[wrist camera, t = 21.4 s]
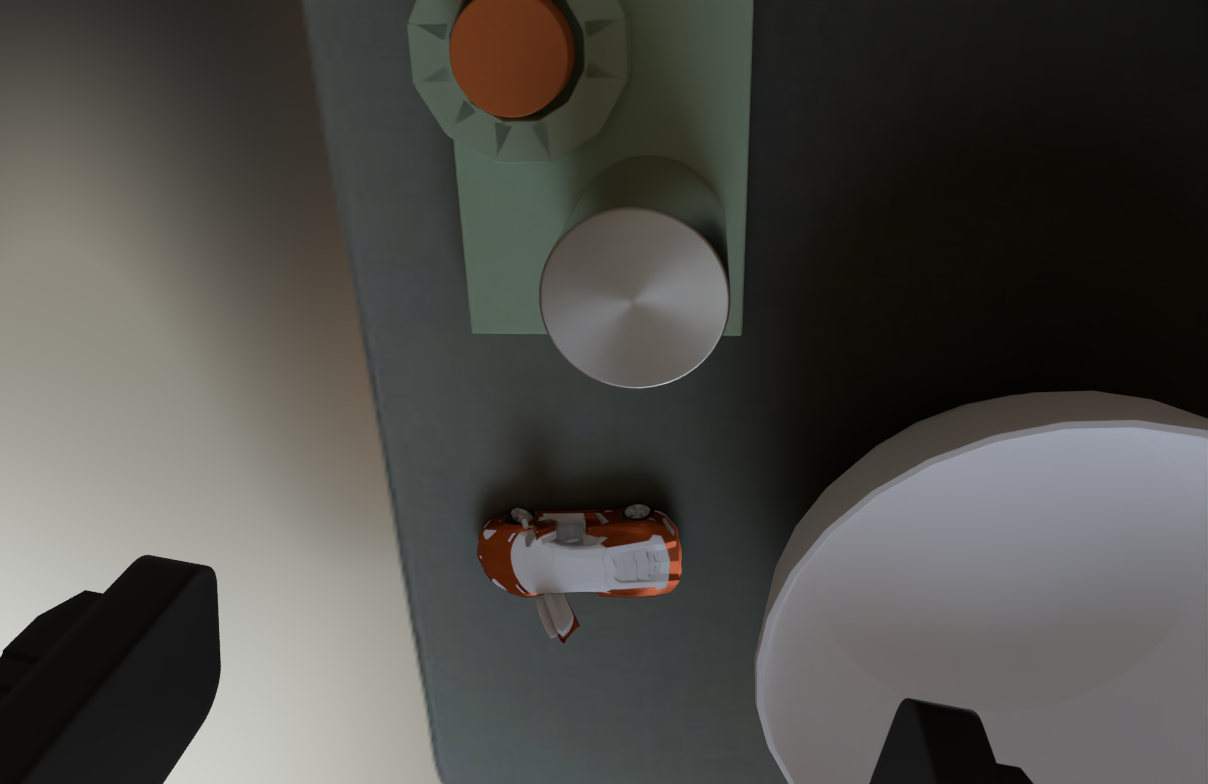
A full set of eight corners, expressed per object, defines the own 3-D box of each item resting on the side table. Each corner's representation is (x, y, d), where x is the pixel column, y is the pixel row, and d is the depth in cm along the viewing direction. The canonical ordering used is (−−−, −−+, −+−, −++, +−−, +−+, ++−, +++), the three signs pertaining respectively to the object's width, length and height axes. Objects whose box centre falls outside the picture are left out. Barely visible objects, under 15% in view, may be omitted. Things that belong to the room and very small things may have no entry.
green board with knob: (431, -65, 28) (395, -68, 25) (753, -77, 27) (759, -82, 24) (468, 314, 33) (442, 352, 30) (740, 316, 32) (743, 356, 29)
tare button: (457, -10, 25) (442, -9, 24) (573, -15, 25) (565, -13, 24) (468, 110, 27) (454, 118, 25) (577, 108, 26) (570, 117, 25)
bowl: (768, 307, 32) (783, 398, 25) (1339, 336, 30) (1514, 441, 24) (729, 715, 39) (732, 866, 33) (1181, 755, 38) (1280, 922, 31)
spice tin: (583, 143, 28) (549, 191, 22) (740, 169, 28) (748, 225, 22) (563, 292, 30) (528, 372, 24) (710, 317, 30) (709, 404, 24)
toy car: (472, 487, 36) (451, 533, 33) (679, 484, 35) (676, 530, 32) (489, 597, 38) (471, 649, 35) (685, 597, 37) (683, 650, 34)
